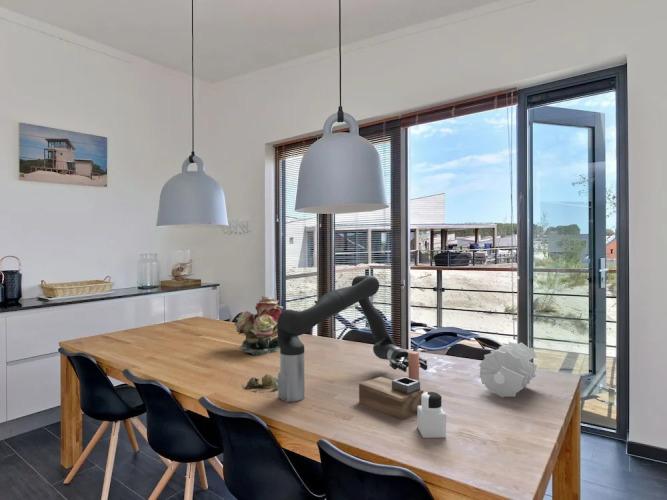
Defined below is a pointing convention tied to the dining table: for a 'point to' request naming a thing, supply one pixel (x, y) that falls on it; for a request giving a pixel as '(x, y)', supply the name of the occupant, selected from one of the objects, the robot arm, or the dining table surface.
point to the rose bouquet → (260, 327)
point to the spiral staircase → (508, 369)
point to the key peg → (414, 365)
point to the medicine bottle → (431, 416)
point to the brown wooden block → (392, 396)
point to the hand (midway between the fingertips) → (416, 368)
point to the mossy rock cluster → (263, 383)
